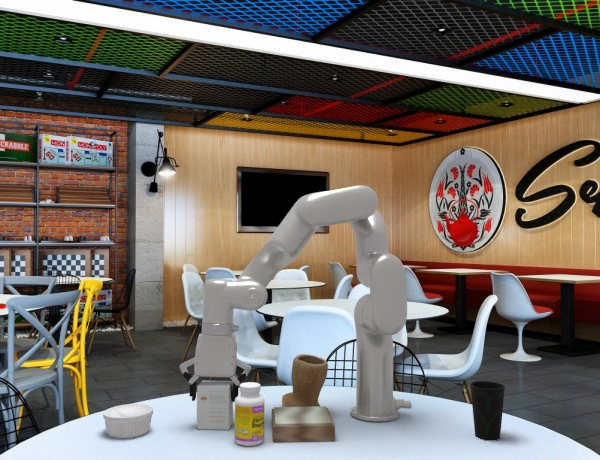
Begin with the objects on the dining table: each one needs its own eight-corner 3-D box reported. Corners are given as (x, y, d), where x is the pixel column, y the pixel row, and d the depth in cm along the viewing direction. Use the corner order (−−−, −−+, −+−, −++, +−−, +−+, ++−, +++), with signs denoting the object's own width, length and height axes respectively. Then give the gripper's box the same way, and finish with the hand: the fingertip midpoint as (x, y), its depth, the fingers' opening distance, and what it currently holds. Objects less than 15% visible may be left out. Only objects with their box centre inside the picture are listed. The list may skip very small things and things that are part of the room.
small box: (233, 423, 143) (233, 380, 143) (229, 430, 137) (229, 386, 137) (201, 422, 143) (202, 379, 144) (196, 429, 138) (196, 385, 138)
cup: (487, 444, 129) (487, 390, 129) (463, 434, 135) (463, 383, 136) (512, 439, 132) (512, 386, 132) (487, 429, 139) (487, 379, 139)
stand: (327, 421, 144) (327, 405, 144) (334, 441, 130) (334, 423, 130) (271, 422, 143) (271, 406, 143) (273, 442, 129) (273, 424, 129)
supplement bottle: (252, 449, 125) (252, 389, 125) (228, 443, 128) (229, 385, 129) (270, 440, 131) (270, 383, 131) (246, 434, 134) (247, 379, 134)
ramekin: (92, 437, 132) (93, 414, 132) (123, 422, 143) (123, 401, 143) (133, 443, 128) (133, 419, 129) (161, 428, 139) (162, 406, 139)
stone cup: (329, 420, 145) (330, 361, 146) (283, 421, 145) (283, 361, 145) (324, 403, 161) (324, 349, 161) (281, 403, 160) (282, 349, 160)
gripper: (252, 328, 145) (249, 397, 144) (183, 326, 144) (180, 395, 143) (252, 333, 137) (249, 405, 137) (179, 330, 136) (175, 403, 136)
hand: (213, 400), depth 140 cm, fingers open, 9 cm apart
